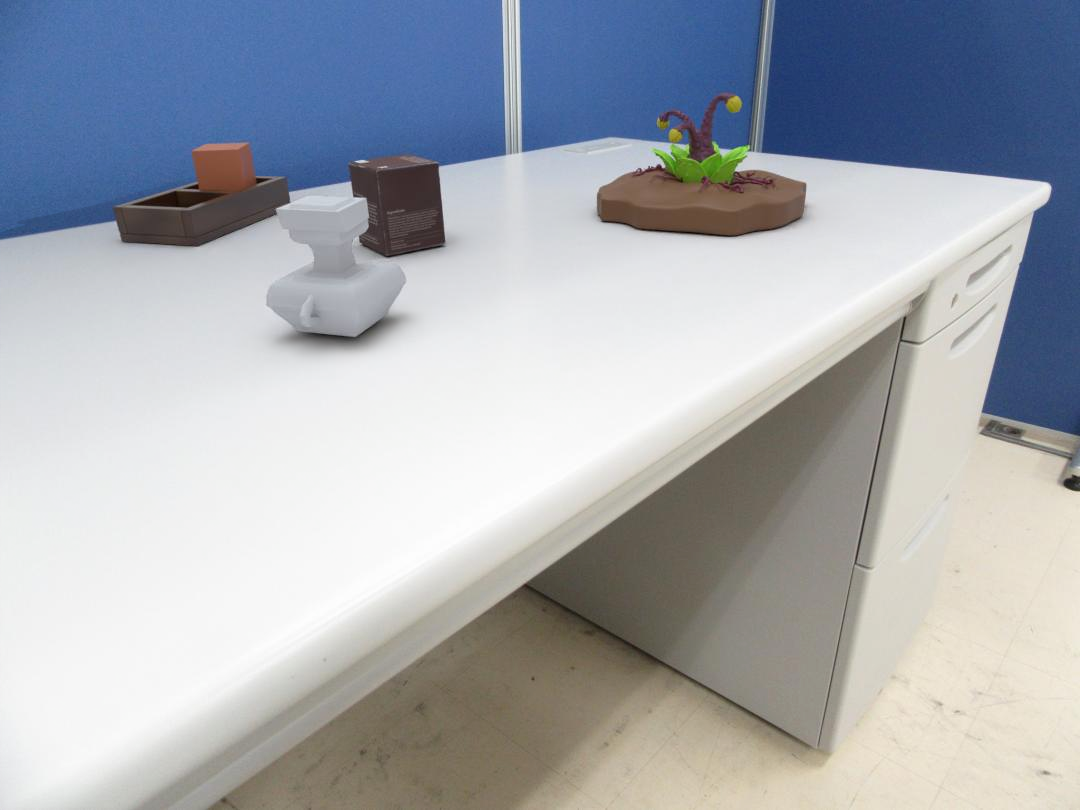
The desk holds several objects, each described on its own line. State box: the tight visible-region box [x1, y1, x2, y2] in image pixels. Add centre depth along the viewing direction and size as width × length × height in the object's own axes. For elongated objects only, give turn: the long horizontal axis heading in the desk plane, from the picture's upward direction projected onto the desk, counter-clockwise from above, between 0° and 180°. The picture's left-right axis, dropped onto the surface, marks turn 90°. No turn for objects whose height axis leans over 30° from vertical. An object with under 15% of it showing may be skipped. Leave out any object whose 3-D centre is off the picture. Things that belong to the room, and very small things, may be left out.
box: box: [347, 153, 446, 257], centre depth 70 cm, size 6×6×7 cm
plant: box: [596, 92, 808, 237], centre depth 78 cm, size 20×20×11 cm
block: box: [190, 142, 257, 191], centre depth 82 cm, size 5×5×6 cm
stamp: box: [265, 195, 407, 338], centre depth 51 cm, size 9×7×8 cm
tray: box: [112, 175, 291, 247], centre depth 80 cm, size 8×16×3 cm, turn 164°
